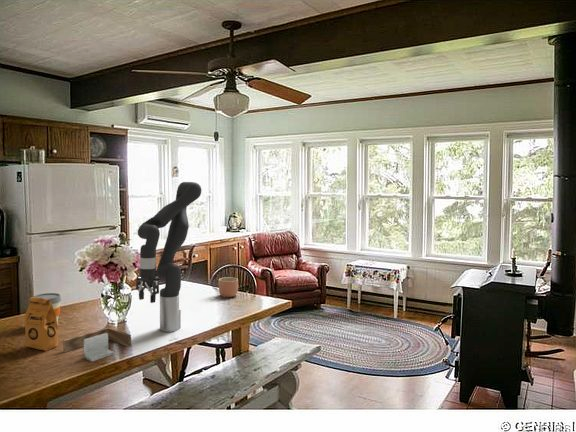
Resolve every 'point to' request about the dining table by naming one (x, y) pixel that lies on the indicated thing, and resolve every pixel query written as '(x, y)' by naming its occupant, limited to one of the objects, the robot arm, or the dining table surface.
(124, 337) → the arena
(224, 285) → the planter
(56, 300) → the reusable coffee cup
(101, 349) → the angle bracket
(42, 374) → the dining table surface
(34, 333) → the coffee package
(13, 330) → the dining table surface
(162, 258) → the robot arm
